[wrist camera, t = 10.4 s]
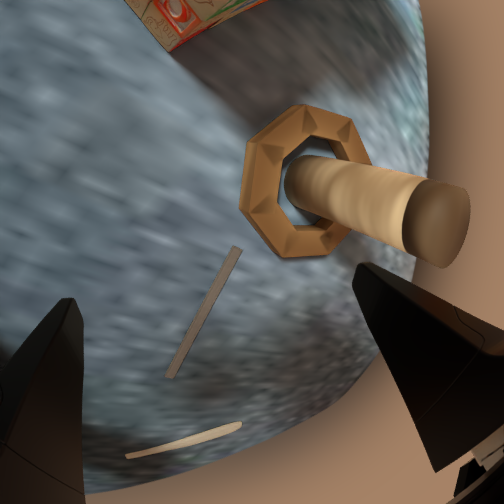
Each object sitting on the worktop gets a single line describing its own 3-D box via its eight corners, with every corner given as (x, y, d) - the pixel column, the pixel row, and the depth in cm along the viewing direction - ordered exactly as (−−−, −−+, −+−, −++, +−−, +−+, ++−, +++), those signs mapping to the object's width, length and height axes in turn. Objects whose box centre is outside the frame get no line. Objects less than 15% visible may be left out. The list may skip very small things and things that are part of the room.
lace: (171, 373, 24) (173, 378, 23) (162, 372, 23) (164, 377, 23) (238, 247, 23) (242, 250, 22) (230, 243, 22) (233, 246, 22)
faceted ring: (291, 275, 26) (301, 283, 24) (210, 173, 19) (219, 176, 18) (371, 189, 27) (383, 193, 26) (319, 84, 21) (333, 83, 19)
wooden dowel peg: (314, 215, 25) (449, 275, 14) (275, 196, 22) (424, 256, 12) (334, 169, 24) (475, 207, 14) (298, 145, 22) (455, 172, 11)
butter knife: (242, 434, 31) (243, 420, 29) (22, 476, 19) (9, 465, 18) (240, 430, 31) (241, 416, 30) (22, 472, 19) (9, 460, 18)
